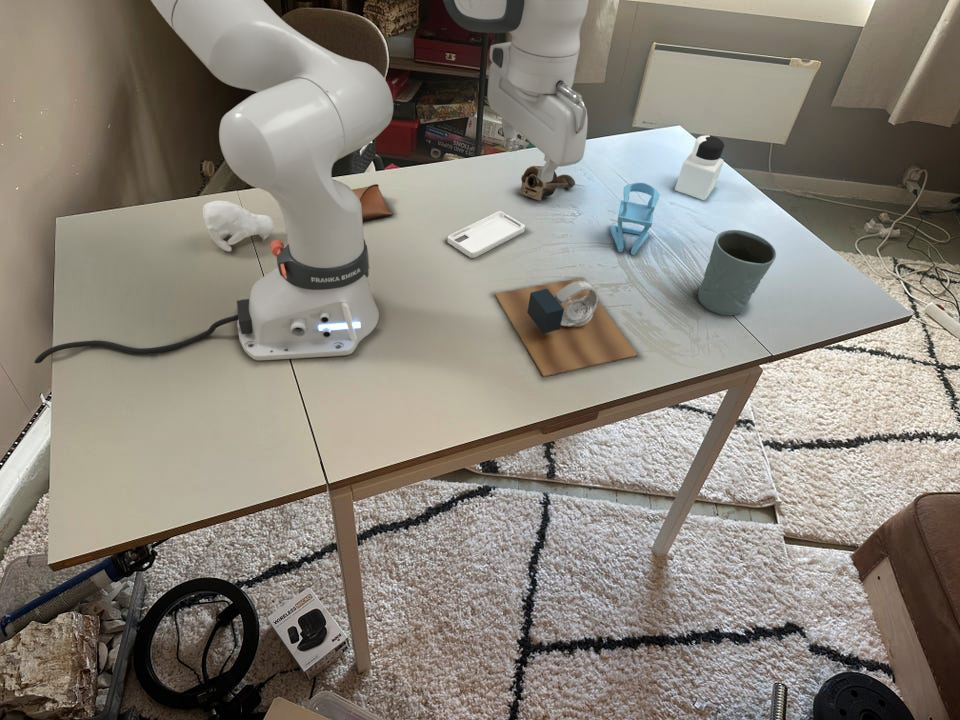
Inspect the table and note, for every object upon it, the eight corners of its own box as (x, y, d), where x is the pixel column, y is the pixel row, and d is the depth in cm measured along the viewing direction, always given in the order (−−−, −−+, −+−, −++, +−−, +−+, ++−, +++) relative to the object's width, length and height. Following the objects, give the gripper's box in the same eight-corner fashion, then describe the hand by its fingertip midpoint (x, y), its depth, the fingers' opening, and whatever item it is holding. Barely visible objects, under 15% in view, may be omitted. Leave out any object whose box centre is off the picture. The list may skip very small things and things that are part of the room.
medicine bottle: (714, 188, 147) (732, 138, 138) (704, 201, 142) (722, 150, 134) (684, 178, 149) (700, 128, 141) (674, 190, 145) (690, 140, 136)
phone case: (472, 259, 121) (525, 231, 129) (472, 253, 120) (526, 225, 128) (446, 241, 124) (499, 215, 132) (446, 236, 123) (500, 210, 131)
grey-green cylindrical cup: (683, 288, 119) (704, 233, 110) (728, 279, 122) (751, 225, 113) (715, 323, 112) (740, 267, 104) (762, 312, 115) (789, 258, 107)
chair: (606, 250, 126) (620, 196, 118) (610, 227, 132) (624, 174, 123) (645, 257, 125) (662, 203, 117) (648, 235, 131) (664, 182, 122)
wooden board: (543, 377, 100) (543, 375, 100) (495, 295, 114) (495, 293, 113) (637, 356, 105) (637, 354, 105) (580, 279, 118) (580, 278, 118)
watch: (541, 342, 105) (597, 326, 109) (548, 305, 99) (607, 289, 103) (525, 321, 108) (580, 306, 112) (531, 283, 103) (589, 269, 107)
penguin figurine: (198, 195, 114) (268, 190, 118) (205, 236, 119) (271, 230, 124) (203, 213, 110) (275, 208, 114) (209, 255, 115) (277, 248, 120)
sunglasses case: (310, 235, 121) (300, 199, 119) (301, 234, 128) (291, 201, 125) (396, 214, 129) (388, 180, 127) (384, 214, 135) (376, 182, 133)
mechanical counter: (512, 160, 138) (528, 173, 130) (567, 150, 140) (586, 163, 132) (514, 192, 142) (530, 207, 134) (567, 182, 145) (586, 196, 136)
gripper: (608, 97, 79) (585, 195, 89) (522, 38, 91) (510, 130, 101) (566, 104, 77) (547, 204, 86) (483, 42, 89) (475, 136, 98)
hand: (527, 164), depth 94 cm, fingers open, 8 cm apart
